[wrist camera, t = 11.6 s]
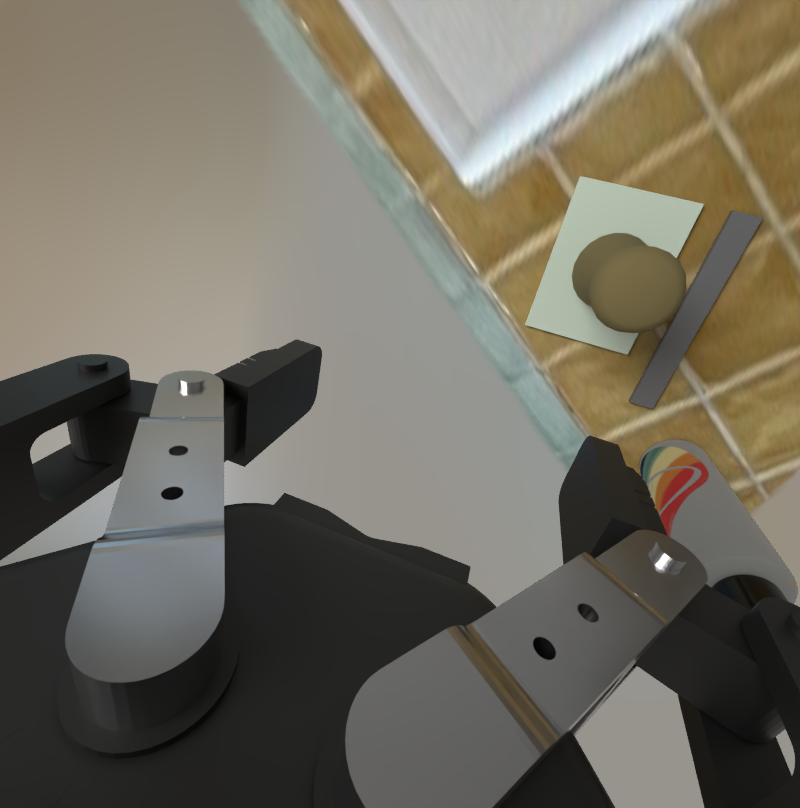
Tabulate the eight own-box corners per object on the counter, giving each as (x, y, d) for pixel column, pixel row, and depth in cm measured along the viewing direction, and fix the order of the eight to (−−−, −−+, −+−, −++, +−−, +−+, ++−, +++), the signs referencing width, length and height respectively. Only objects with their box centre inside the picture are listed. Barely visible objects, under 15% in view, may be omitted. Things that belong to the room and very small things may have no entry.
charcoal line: (731, 210, 30) (733, 210, 30) (760, 217, 30) (763, 217, 30) (628, 400, 38) (629, 402, 37) (651, 407, 37) (652, 409, 37)
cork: (672, 258, 32) (731, 277, 23) (616, 323, 35) (646, 364, 25) (606, 217, 32) (636, 217, 23) (556, 285, 35) (563, 311, 26)
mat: (579, 176, 32) (580, 176, 32) (702, 204, 31) (704, 204, 30) (525, 323, 38) (525, 324, 37) (626, 353, 36) (627, 354, 36)
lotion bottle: (627, 451, 40) (699, 637, 22) (694, 428, 37) (834, 618, 20) (652, 497, 41) (739, 709, 23) (718, 478, 38) (871, 700, 21)
